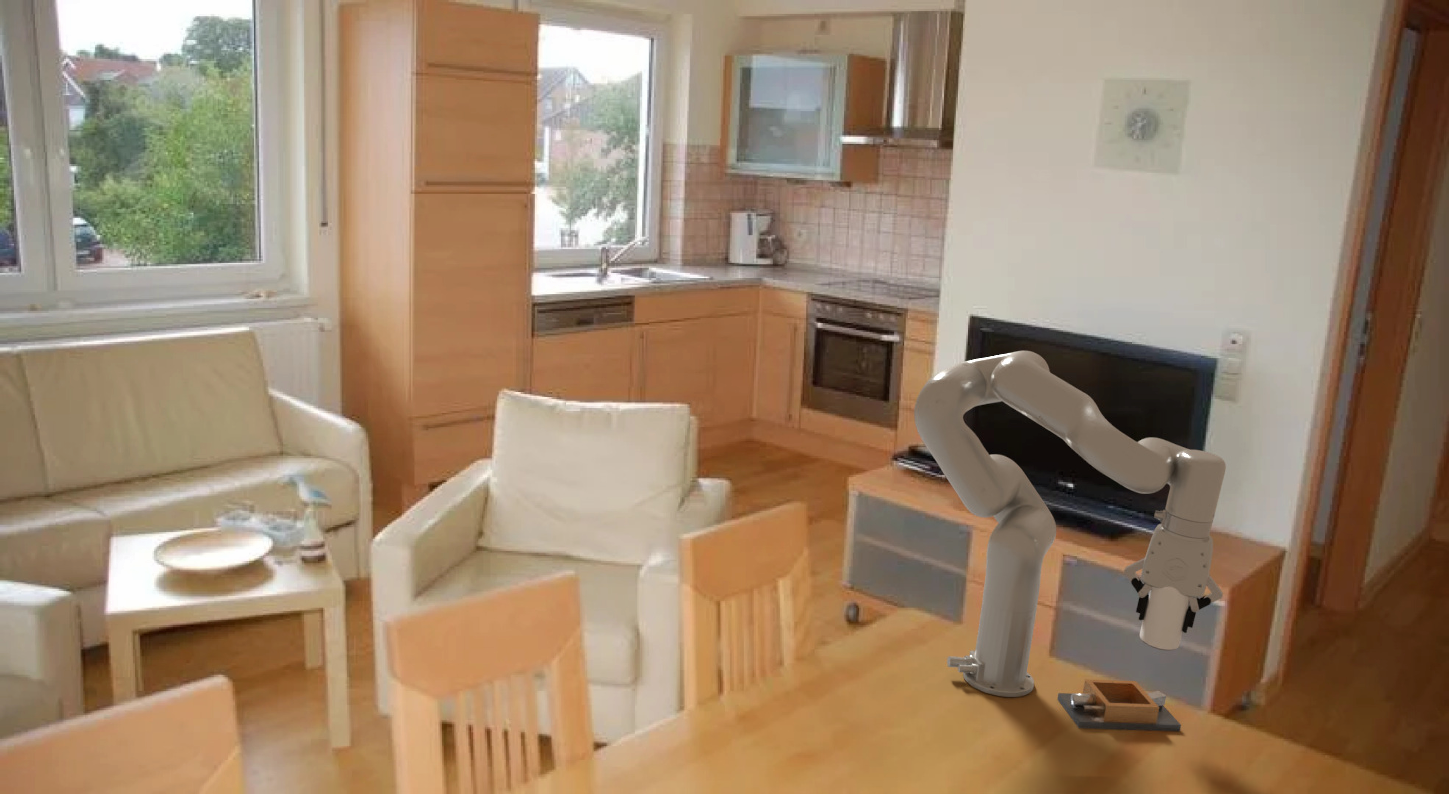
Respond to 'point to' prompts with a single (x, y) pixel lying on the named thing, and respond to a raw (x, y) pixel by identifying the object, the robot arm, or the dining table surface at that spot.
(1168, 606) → the can
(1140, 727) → the base
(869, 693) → the dining table surface
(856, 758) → the dining table surface
